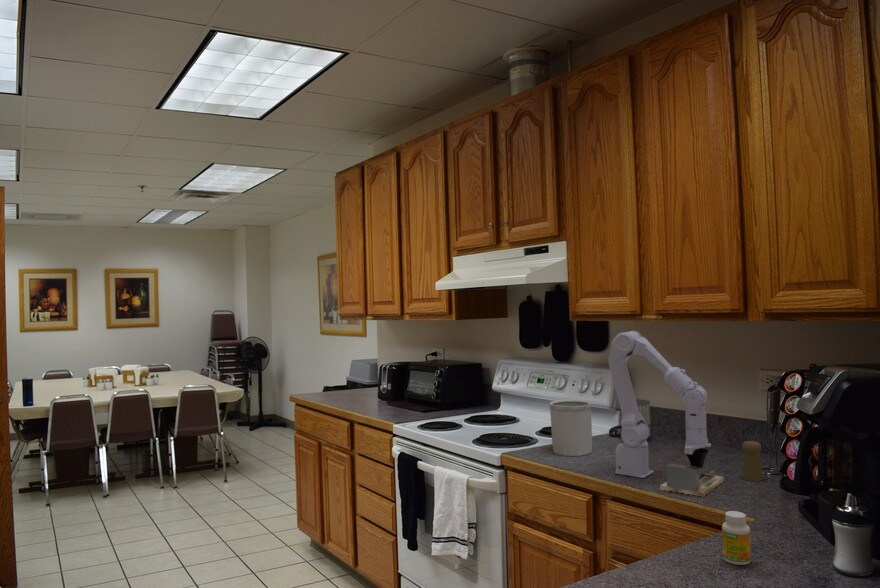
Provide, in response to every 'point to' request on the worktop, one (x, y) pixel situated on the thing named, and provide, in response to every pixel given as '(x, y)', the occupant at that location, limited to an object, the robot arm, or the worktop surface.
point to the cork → (752, 461)
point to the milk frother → (645, 412)
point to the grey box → (682, 477)
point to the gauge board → (704, 485)
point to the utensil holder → (571, 427)
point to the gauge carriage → (701, 472)
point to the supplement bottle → (736, 538)
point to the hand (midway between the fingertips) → (697, 473)
